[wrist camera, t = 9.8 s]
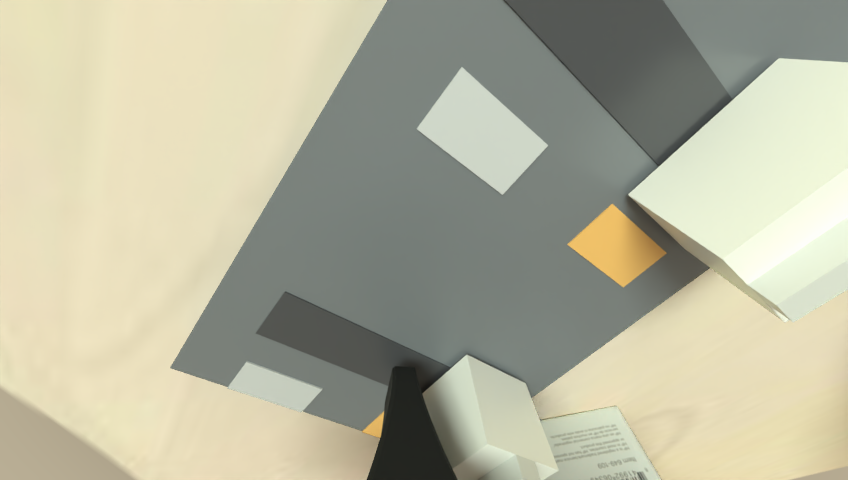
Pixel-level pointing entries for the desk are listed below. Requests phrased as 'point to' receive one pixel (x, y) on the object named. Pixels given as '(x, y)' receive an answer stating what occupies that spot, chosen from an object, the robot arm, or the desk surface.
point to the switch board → (484, 194)
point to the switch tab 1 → (488, 424)
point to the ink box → (596, 447)
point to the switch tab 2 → (766, 188)
